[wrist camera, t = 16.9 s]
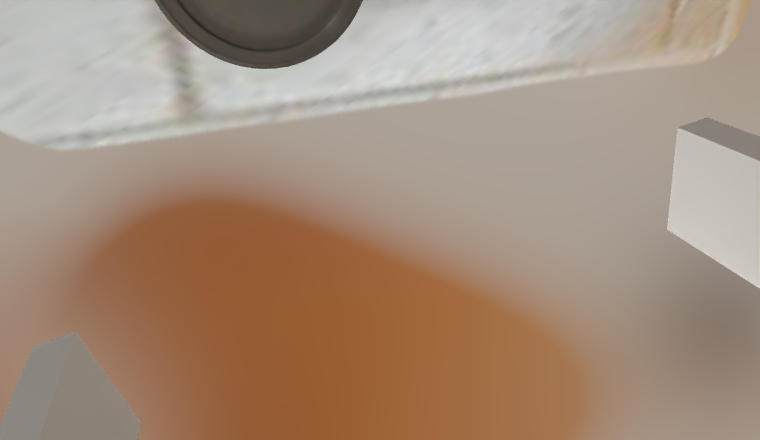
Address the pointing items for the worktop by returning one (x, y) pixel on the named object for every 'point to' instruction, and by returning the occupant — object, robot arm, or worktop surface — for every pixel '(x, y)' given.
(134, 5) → the worktop surface
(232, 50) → the coffee can
